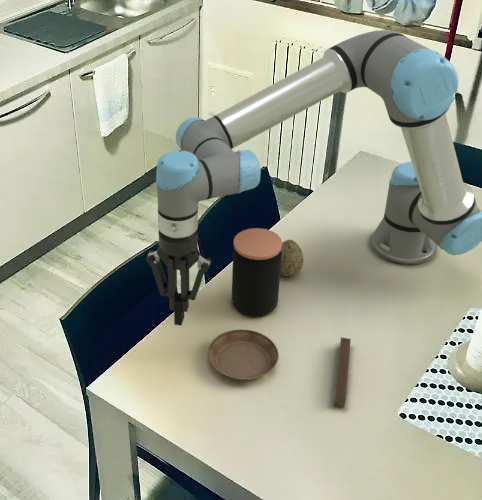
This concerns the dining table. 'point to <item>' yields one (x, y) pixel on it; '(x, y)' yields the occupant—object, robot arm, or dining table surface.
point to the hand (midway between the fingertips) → (179, 320)
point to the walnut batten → (342, 373)
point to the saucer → (243, 354)
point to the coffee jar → (256, 271)
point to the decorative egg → (291, 258)
